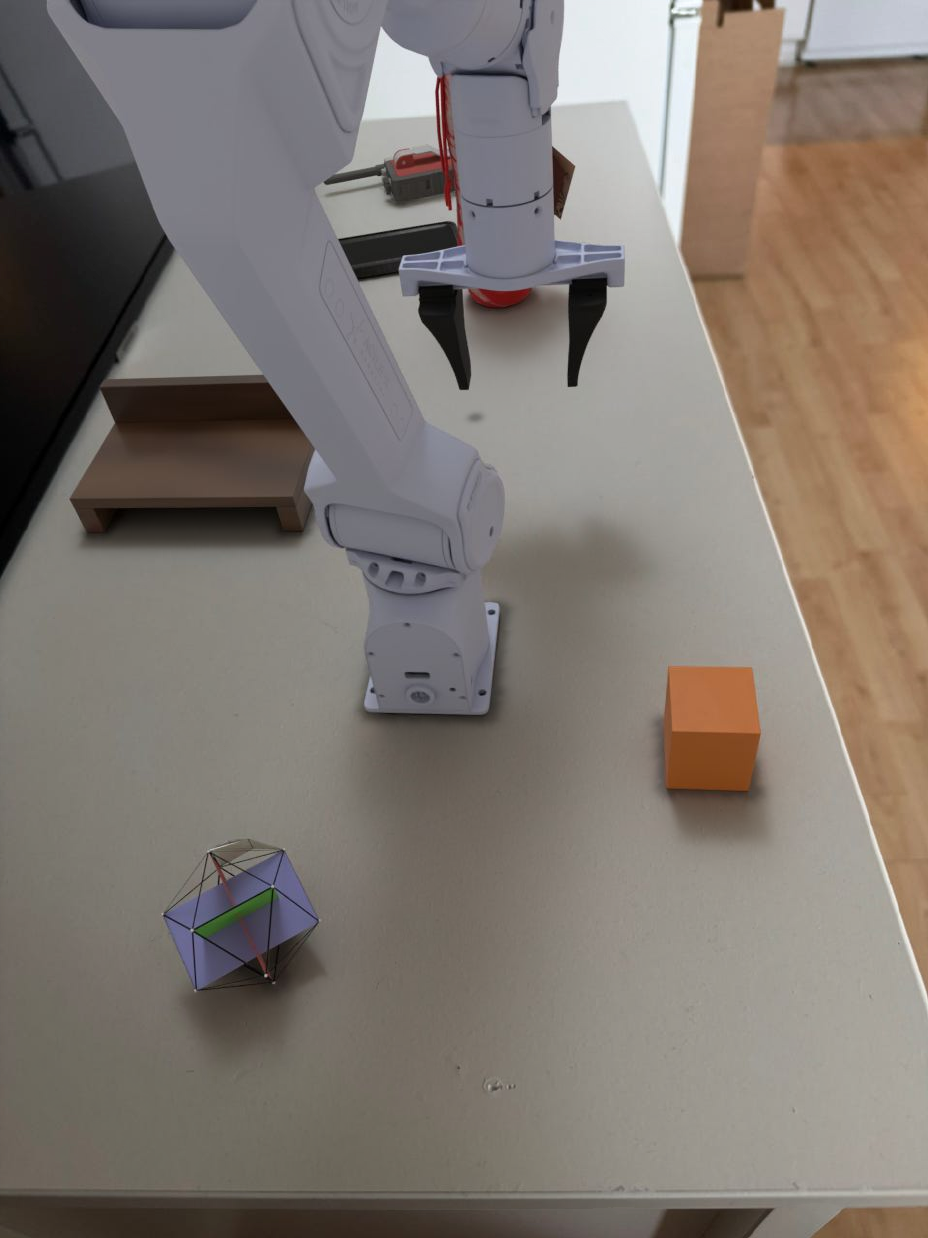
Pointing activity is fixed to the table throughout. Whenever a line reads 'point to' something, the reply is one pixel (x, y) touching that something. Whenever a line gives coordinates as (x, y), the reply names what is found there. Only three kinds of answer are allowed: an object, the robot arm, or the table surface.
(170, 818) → the table surface
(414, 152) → the walkie-talkie
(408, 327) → the table surface
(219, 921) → the geometric puzzle
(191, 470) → the shelf
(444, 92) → the water bottle
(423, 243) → the phone
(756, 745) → the orange cube-like block
